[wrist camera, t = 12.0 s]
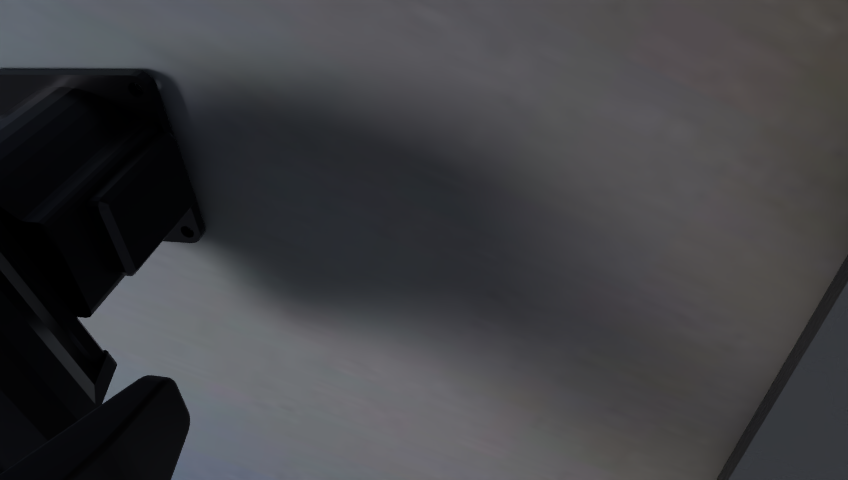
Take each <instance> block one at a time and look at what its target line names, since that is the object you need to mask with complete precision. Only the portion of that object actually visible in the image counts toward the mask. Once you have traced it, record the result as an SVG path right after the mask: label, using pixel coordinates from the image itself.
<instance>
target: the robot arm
mask: <svg viewBox="0 0 848 480" xmlns="http://www.w3.org/2000/svg"><path fill="white" fill-rule="evenodd" d="M135 83H137V84H138V85H139V86H141V88H142V90H143V91H141V90H139V89H138V88H137V86H136V85H135ZM188 227H189V228H191V229H192V230H190V229H189V228H188ZM204 233H205V225H204V222H203V219H202V216H201V213H200V210H199V207H198V204H197V202H196V197H195V194H194V192H193V189H192V186H191V183H190V180H189V177H188V174H187V171H186V168H185V165H184V163H183V160H182V157H181V154H180V151H179V148H178V145H177V142H176V140H175V138H174V135H173V132H172V129H171V126H170V123H169V120H168V117H167V114H166V112H165V109H164V106H163V103H162V100H161V97H160V94H159V91H158V88H157V85H156V83H155V81H154V80H153V78H152V77H151V76H150V75H149V74H147V73H146V72H144V71H141V70H60V69H0V480H171V478H172V475H173V472H174V470H175V467H176V464H177V461H178V459H179V456H180V453H181V450H182V447H183V445H184V442H185V439H186V436H187V434H188V431H189V426H190V415H189V412H188V409H187V407H186V405H185V403H184V400H183V398H182V396H181V393H180V391H179V389H178V387H177V384H176V383H175V381H174V380H172V379H171V378H168V377H161V376H153V375H148V376H144V377H142V378H140V379H138V380H137V381H135V382H134V383H132V384H131V385H129V386H128V387H127V388H125V389H124V390H122V391H121V392H119V393H118V394H116V395H115V396H113V397H112V398H110V399H109V400H108V401H106V402H105V403H103V400H104V397H105V395H106V392H107V390H108V387H109V385H110V382H111V379H112V377H113V374H114V372H115V369H116V366H117V363H116V362H115V360H114V359H113V358H112V357H111V355H110V354H109V353H108V351H106V350H102V349H101V347H100V346H99V345H98V344H97V342H96V341H95V340H94V338H93V337H92V336H91V335H90V333H89V332H88V331H87V329H86V328H85V327H84V326H83V324H82V323H81V322H80V321H79V319H78V318H77V317H84V318H87V317H90V316H91V315H92V314H93V313H94V312H95V311H96V309H97V308H98V307H99V306H100V305H101V304H102V302H103V301H104V300H105V299H106V298H107V296H108V295H109V294H110V293H111V292H112V291H113V289H114V288H115V287H116V286H117V285H118V284H119V282H120V281H121V280H122V279H123V278H124V276H133V275H134V274H135V273H136V272H137V271H138V270H139V269H140V267H141V266H142V265H143V264H144V263H145V261H146V260H147V259H148V258H149V257H150V255H151V254H152V253H153V252H154V251H155V249H156V248H157V247H158V246H159V245H160V243H161V242H162V241H169V242H183V243H196V242H197V241H199V240H200V238H201V237H202V236H203V234H204ZM102 403H103V404H102Z"/></svg>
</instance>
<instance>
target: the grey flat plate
mask: <svg viewBox="0 0 848 480" xmlns="http://www.w3.org/2000/svg"><path fill="white" fill-rule="evenodd" d="M717 480H848V255H847V257H846V259H845V261H844V262H843V264H842V266H841V267H840V269H839V271H838V273H837V274H836V276H835V278H834V279H833V281H832V283H831V285H830V286H829V288H828V290H827V291H826V293H825V295H824V297H823V298H822V300H821V302H820V303H819V305H818V307H817V308H816V310H815V312H814V314H813V315H812V317H811V319H810V320H809V322H808V324H807V326H806V327H805V329H804V331H803V332H802V334H801V336H800V338H799V339H798V341H797V343H796V344H795V346H794V348H793V350H792V351H791V353H790V355H789V356H788V358H787V360H786V362H785V363H784V365H783V367H782V368H781V370H780V372H779V374H778V375H777V377H776V379H775V380H774V382H773V384H772V386H771V387H770V389H769V391H768V392H767V394H766V396H765V398H764V399H763V401H762V403H761V404H760V406H759V408H758V410H757V411H756V413H755V415H754V416H753V418H752V420H751V422H750V423H749V425H748V427H747V428H746V430H745V432H744V434H743V435H742V437H741V439H740V440H739V442H738V444H737V446H736V447H735V449H734V451H733V452H732V454H731V456H730V458H729V459H728V461H727V463H726V464H725V466H724V468H723V470H722V471H721V473H720V475H719V476H718V478H717Z"/></svg>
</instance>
